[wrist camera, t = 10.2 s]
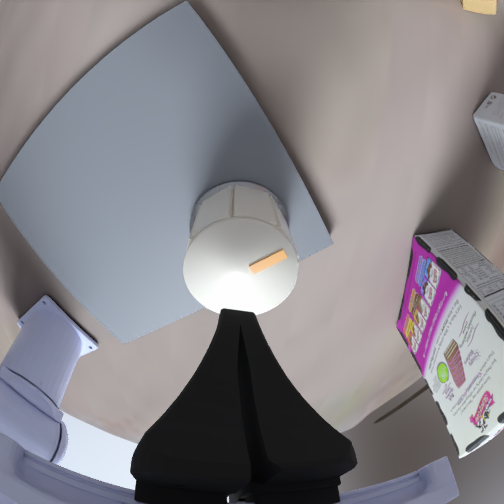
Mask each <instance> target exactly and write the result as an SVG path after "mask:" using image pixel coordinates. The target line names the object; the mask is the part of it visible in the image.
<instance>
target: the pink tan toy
mask: <svg viewBox="0 0 504 504" xmlns="http://www.w3.org/2000/svg"><path fill="white" fill-rule="evenodd" d="M461 2H462V6H463V9H465V10H468V11H471V12H476V13H481V14H495V15H496V5H497V0H461Z"/></svg>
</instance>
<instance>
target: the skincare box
mask: <svg viewBox="0 0 504 504" xmlns="http://www.w3.org/2000/svg"><path fill="white" fill-rule="evenodd" d="M473 117H474V121H475V123H476V125H477V127H478V130H479V132H480V135H481V137H482V139H483V142H484V144H485V146H486V149H487V151H488V153H489V156H490V158H491V161H492V163H493V164H494V166H495V167H497V168H499V169H501V170H503V171H504V94H501V93H496V92H491V93H490V94H489V95H488V97H487V98H486V99H485V100H484V101H483V103H482V104H481V105H480V106H479V108H478V109H477V110H476V112H475V113H474V114H473Z"/></svg>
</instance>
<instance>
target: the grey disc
mask: <svg viewBox="0 0 504 504" xmlns="http://www.w3.org/2000/svg"><path fill="white" fill-rule="evenodd" d="M230 185H231V187H232V188H233V190H234V188H235V185H239V186H244V187H248V188H252V189H256V190H260V191H264V192H267V193H268V195H269V196H271V195H272V197H273V199H274V201H275V202H276V204H277V206H278V208H279V209H280V211H281V213H282V215H283V217H284V218H285V220H286V222H287V225H288V228H289V220H288V215H287V212H286V210H285V207H284V205H283V203H282V202H281V200H280V199H279V198H278V197H277V195H276V194H275V193H274V192H272V191H271V190H270V189H268V188H267V187H265V186H263V185H261V184H259V183H256V182H253V181H248V180H231V181H226V182H223V183H220V184H218V185H216V186H214V187H212V188H211V189H209V190H208V191H207V192H205V193H204V194H203V195H202V196H201V198H200V199H199V200H198V202H197V203H196V205H195V207H194V209H193V212H192V215H191V219H190V233H191V230H192V227H193V224H194V221H195V218H196V215H197V212H198V209H199V206H200V205H202V202H203V201H204V200H206V199H208V198H209V197H211V196H213V195H214V194H216V193H218V192H220V191H221V190H223V189H225V188H227V187H228V186H230Z"/></svg>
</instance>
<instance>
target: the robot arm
mask: <svg viewBox="0 0 504 504" xmlns="http://www.w3.org/2000/svg"><path fill="white" fill-rule="evenodd" d="M17 323H18V325H19V326H20V327H21V328H22V329H21V331H20V333H19V334H18V336H17V337H16V339H15V341H14V342H13V344H12V346H11V347H10V349H9V351H8V353H7V354H6V356H5V358H4V360H3V362H2V363H1V365H0V504H446V503H448V502H449V501H451V500H452V499H454V498H456V497H457V496H459V491H458V488H457V485H456V482H455V478H454V475H453V472H452V469H451V466H450V463H449V460H448V458H447V457H446V456H445V457H443V458H441V459H439V460H437V461H434V462H432V463H430V464H428V465H426V466H424V467H422V468H421V469H419V470H418V471H416V472H413V473H410V474H408V475H405V476H402V477H399V478H396V479H393V480H390V481H386V482H383V483H380V484H377V485H373V486H369V487H365V488H361V489H357V490H353V491H349V492H344V493H339V491H338V485H340V484H341V481H340V476H341V475H343V474H345V473H347V472H348V471H350V470H352V469H353V468H354V467H355V466H356V465H357V458H356V454H355V451H354V448H353V446H352V443H351V441H350V440H349V439H347V438H346V437H345V436H343V435H342V434H341V433H339V432H338V431H337V430H336V429H334V428H333V427H332V426H331V425H330V424H328V423H327V422H326V421H325V420H324V419H323V418H322V417H321V416H320V415H319V414H318V413H317V412H316V411H315V410H314V409H313V408H312V407H311V406H310V405H309V404H308V403H307V401H306V400H305V399H304V398H303V397H302V396H301V394H300V393H299V392H298V391H297V390H296V388H295V387H294V386H293V384H292V383H291V381H290V380H289V379H288V377H287V376H286V374H285V373H284V371H283V370H282V368H281V366H280V365H279V363H278V362H277V360H276V358H275V356H274V354H273V353H272V351H271V349H270V347H269V345H268V343H267V341H266V339H265V337H264V335H263V333H262V330H261V328H260V326H259V323H258V321H257V318H256V315H255V314H254V312H249V311H241V310H234V309H227V308H223V309H221V310H220V315H219V320H218V326H217V329H216V332H215V334H214V337H213V339H212V341H211V344H210V346H209V348H208V350H207V352H206V354H205V356H204V358H203V360H202V361H201V363H200V365H199V367H198V368H197V370H196V372H195V373H194V375H193V376H192V378H191V379H190V381H189V382H188V384H187V385H186V386H185V388H184V389H183V391H182V392H181V393H180V395H179V396H178V397H177V399H176V400H175V401H174V402H173V403H172V405H171V406H170V407H169V408H168V409H167V410H166V412H165V413H164V414H163V415H162V416H161V417H160V418H159V419H158V420H157V421H156V422H155V423H154V424H153V425H152V426H151V427H150V428H149V429H148V430H147V431H146V432H145V434H144V436H143V437H142V439H141V441H140V442H139V444H138V446H137V448H136V449H135V451H134V454H133V457H132V461H131V469H130V472H131V474H132V475H133V477H134V478H135V479H136V487H135V490H131V489H127V488H123V487H120V486H116V485H112V484H109V483H105V482H102V481H99V480H96V479H93V478H90V477H87V476H84V475H81V474H79V473H76V472H74V471H71V470H68V469H66V468H64V467H61V466H59V464H60V463H61V461H62V459H63V457H64V455H65V453H66V449H67V445H68V434H67V430H66V426H65V424H64V422H63V421H61V420H62V417H63V413H62V412H61V411H60V410H59V407H60V404H61V401H62V398H63V396H64V393H65V391H66V388H67V385H68V383H69V380H70V378H71V375H72V373H73V370H74V368H75V366H76V363H77V361H78V359H79V357H80V356H82V355H85V354H87V353H89V352H91V351H93V350H96V349H97V348H98V344H97V343H96V342H95V341H94V340H93V339H92V338H90V337H89V336H88V335H87V334H86V333H85V332H84V331H83V330H82V329H81V328H80V327H79V326H78V325H76V324H75V323H74V322H73V321H72V320H71V319H70V318H69V317H68V316H67V315H66V314H65V313H64V312H63V311H62V310H61V309H60V308H59V307H58V306H57V304H56V303H55V302H54V301H53V300H52V299H51V298H50V297H49V296H47V295H45V296H43V297H42V298H41V299H40V300H39V301H38V302H37V303H36V304H35V305H34V306H33V307H32V308H31V309H30V310H29V311H27V312H26V313H25V314H24V315H23V316H22V317H21V318H20V319H19V320H18V322H17ZM228 496H229V503H227V497H228Z"/></svg>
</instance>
